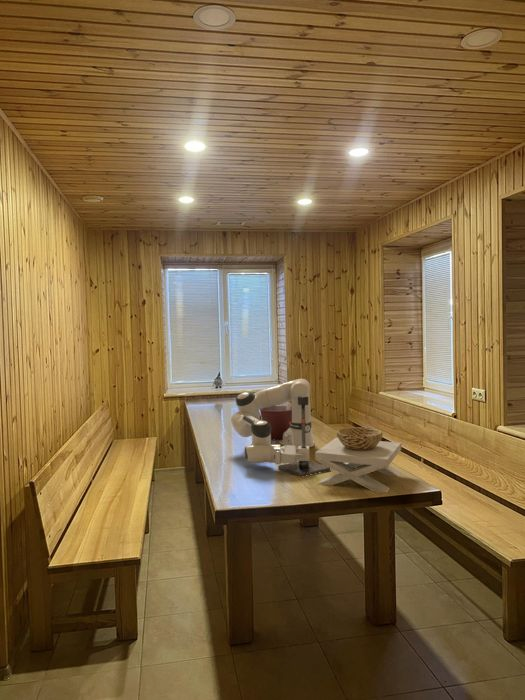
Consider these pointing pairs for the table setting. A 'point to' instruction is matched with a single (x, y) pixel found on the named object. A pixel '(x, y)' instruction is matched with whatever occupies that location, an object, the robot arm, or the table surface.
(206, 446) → the table surface
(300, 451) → the sleeve
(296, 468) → the rod stand
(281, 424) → the bucket
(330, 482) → the white table with basket
